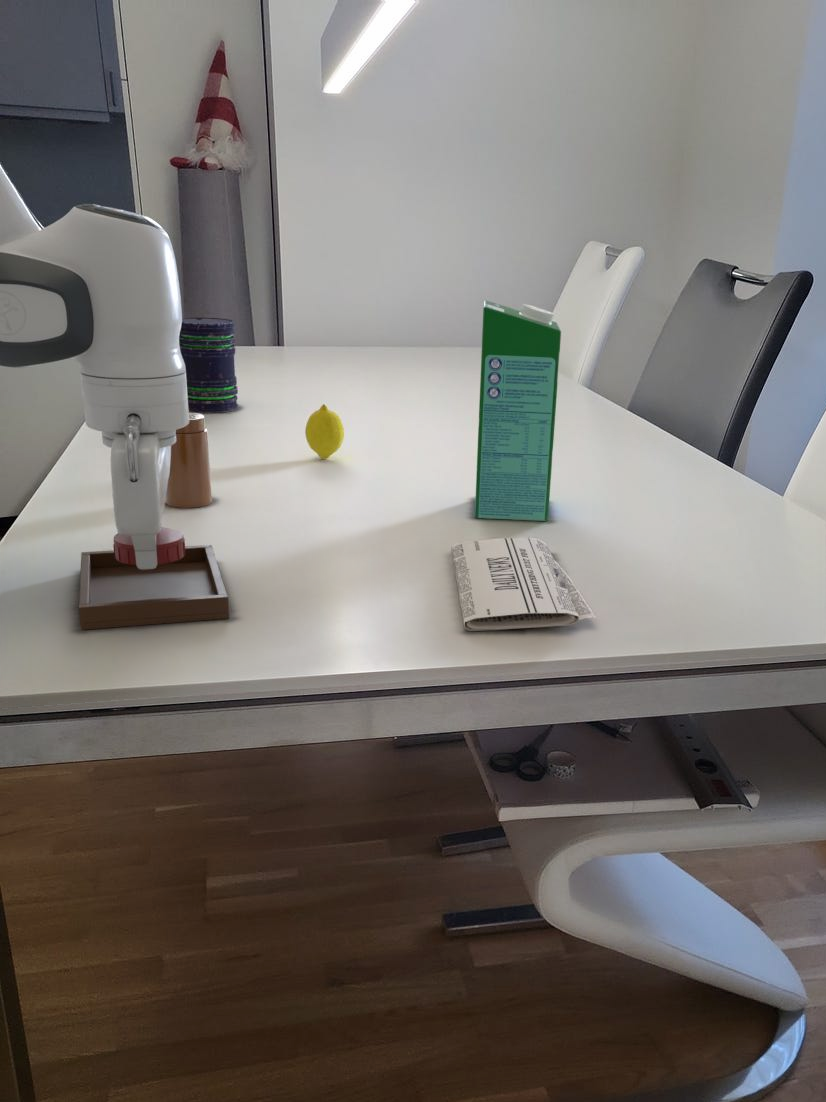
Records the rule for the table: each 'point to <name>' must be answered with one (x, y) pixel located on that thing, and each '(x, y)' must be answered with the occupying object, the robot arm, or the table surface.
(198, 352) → the dark purple barrel
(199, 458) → the jar
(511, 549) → the newspaper
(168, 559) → the lid
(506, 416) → the milk carton
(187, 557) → the tray
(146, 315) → the robot arm
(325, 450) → the fruit
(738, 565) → the table surface
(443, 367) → the table surface
